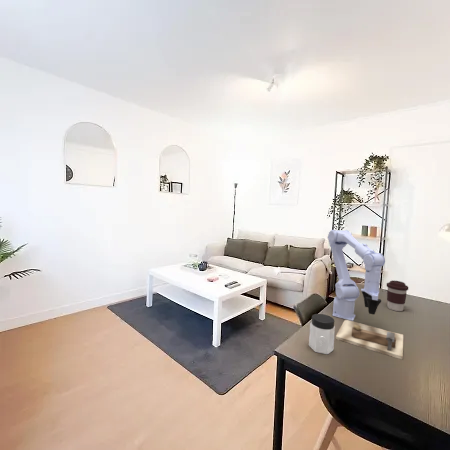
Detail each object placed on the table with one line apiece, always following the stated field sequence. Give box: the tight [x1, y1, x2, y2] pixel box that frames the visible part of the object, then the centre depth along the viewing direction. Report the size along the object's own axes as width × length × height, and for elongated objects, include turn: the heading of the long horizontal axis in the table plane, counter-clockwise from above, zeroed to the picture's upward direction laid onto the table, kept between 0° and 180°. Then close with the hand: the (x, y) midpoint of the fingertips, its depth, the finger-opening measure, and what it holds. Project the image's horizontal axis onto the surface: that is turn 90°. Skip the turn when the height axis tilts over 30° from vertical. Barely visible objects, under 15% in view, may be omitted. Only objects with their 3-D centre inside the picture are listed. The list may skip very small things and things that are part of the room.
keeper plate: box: [335, 319, 404, 360], centre depth 109 cm, size 23×20×6 cm
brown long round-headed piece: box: [352, 327, 396, 348], centre depth 105 cm, size 15×4×3 cm, turn 59°
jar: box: [308, 313, 336, 355], centre depth 100 cm, size 9×8×12 cm
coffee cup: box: [386, 280, 409, 312], centre depth 142 cm, size 10×10×15 cm
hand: (369, 310), depth 115 cm, fingers open, 7 cm apart
